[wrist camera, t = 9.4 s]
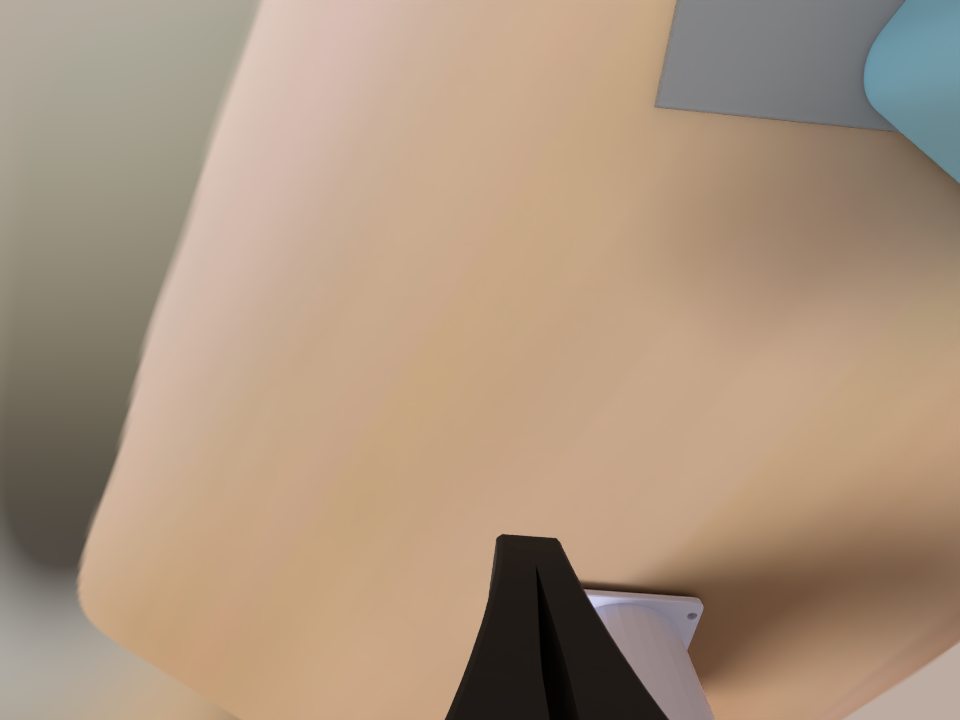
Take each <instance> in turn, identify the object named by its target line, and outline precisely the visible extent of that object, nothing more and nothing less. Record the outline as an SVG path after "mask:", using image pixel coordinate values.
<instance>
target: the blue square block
mask: <svg viewBox="0 0 960 720" xmlns="http://www.w3.org/2000/svg"><path fill="white" fill-rule="evenodd" d="M864 89H865V93H866V96H867V99H868V101H869V102H870V104H871V105H872V107H873V108H874V109H875V110H876V111H877V112H878V113H879V114H881V115H882V116H883V117H884V118H885V119H886V120H887V121H889V122H890V123H891V124H892V125H893V126H894V127H895V128H897V129H898V130H899V131H900V132H901V133H902V134H903V135H905V136H906V137H907V138H908V139H909V140H910V141H911V142H913V143H914V144H915V145H916V146H917V147H918V148H919V149H921V150H922V151H923V152H924V153H925V154H926V155H927V156H929V157H930V158H931V159H932V160H933V161H934V162H935V163H937V164H938V165H939V166H940V167H941V168H942V169H943V170H945V171H946V172H947V173H948V174H949V175H950V176H951V177H953V178H954V179H955V180H956V181H957V182H958V183H959V184H960V0H905V2H904V3H903V4H902V5H901V7H900V8H899V9H898V10H897V12H896V13H895V14H894V15H893V17H892V18H891V19H890V20H889V22H888V23H887V24H886V25H885V27H884V28H883V29H882V31H881V32H880V33H879V35H878V36H877V38H876V40H875V41H874V43H873V45H872V47H871V49H870V51H869V54H868V57H867V60H866V64H865V69H864Z"/></svg>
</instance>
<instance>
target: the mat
mask: <svg viewBox="0 0 960 720" xmlns="http://www.w3.org/2000/svg"><path fill="white" fill-rule="evenodd" d="M904 2H905V0H677V3H676V7H675V12H674V17H673V22H672V26H671V31H670V36H669V41H668V45H667V50H666V55H665V60H664V64H663V69H662V74H661V79H660V83H659V88H658V93H657V98H656V102H655V107H657V108H667V109H677V110H686V111H696V112H706V113H715V114H725V115H735V116H745V117H754V118H764V119H774V120H783V121H793V122H803V123H813V124H822V125H832V126H842V127H851V128H861V129H871V130H881V131H890V132H900V131H899V130H898V129H897V128H895V127H894V126H893V125H892V124H891V123H890V122H889V121H887V120H886V119H885V118H884V117H883V116H882V115H881V114H879V113H878V112H877V111H876V110H875V109H874V108H873V107H872V105H871V104H870V102H869V101H868V99H867V96H866V93H865V89H864V69H865V64H866V60H867V57H868V54H869V51H870V49H871V47H872V45H873V43H874V41H875V40H876V38H877V36H878V35H879V33H880V32H881V31H882V29H883V28H884V27H885V25H886V24H887V23H888V22H889V20H890V19H891V18H892V17H893V15H894V14H895V13H896V12H897V10H898V9H899V8H900V7H901V5H902V4H903V3H904ZM900 133H901V132H900Z"/></svg>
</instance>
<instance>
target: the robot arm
mask: <svg viewBox="0 0 960 720" xmlns="http://www.w3.org/2000/svg"><path fill="white" fill-rule="evenodd" d="M703 610H704V606H703V604H702V602H701V600H700V599H698V598H695V597H684V596H670V595H656V594H642V593H628V592H614V591H600V590H586V589H583V587H582V585H581V583H580V581H579V580H578V578H577V576H576V574H575V572H574V570H573V568H572V566H571V564H570V562H569V560H568V558H567V556H566V554H565V552H564V550H563V548H562V546H561V543H560V542H559V541H558V540H557V539H556V538H546V537H532V536H519V535H506V534H502V535H500V536H499V537H497V539H496V546H495V554H494V561H493V568H492V575H491V583H490V590H489V598H488V602H487V606H486V610H485V614H484V617H483V620H482V624H481V627H480V630H479V633H478V636H477V639H476V642H475V644H474V647H473V650H472V653H471V656H470V659H469V662H468V664H467V667H466V670H465V672H464V675H463V678H462V680H461V683H460V685H459V688H458V690H457V692H456V695H455V697H454V700H453V702H452V705H451V707H450V709H449V712H448V714H447V716H446V718H445V720H715V718H714V715H713V713H712V710H711V708H710V706H709V703H708V701H707V698H706V696H705V693H704V691H703V689H702V686H701V684H700V681H699V679H698V676H697V674H696V672H695V669H694V667H693V664H692V662H691V659H690V657H689V654H688V652H687V650H688V647H689V645H690V642H691V640H692V637H693V635H694V632H695V630H696V627H697V625H698V622H699V620H700V617H701V615H702V612H703Z"/></svg>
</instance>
